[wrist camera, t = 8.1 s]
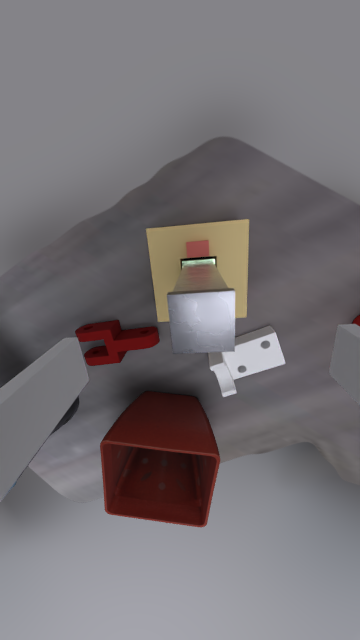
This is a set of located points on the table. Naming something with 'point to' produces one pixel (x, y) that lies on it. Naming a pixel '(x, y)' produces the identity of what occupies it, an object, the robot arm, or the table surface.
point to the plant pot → (160, 461)
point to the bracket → (246, 358)
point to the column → (201, 310)
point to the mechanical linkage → (115, 341)
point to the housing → (199, 241)
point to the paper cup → (357, 320)
